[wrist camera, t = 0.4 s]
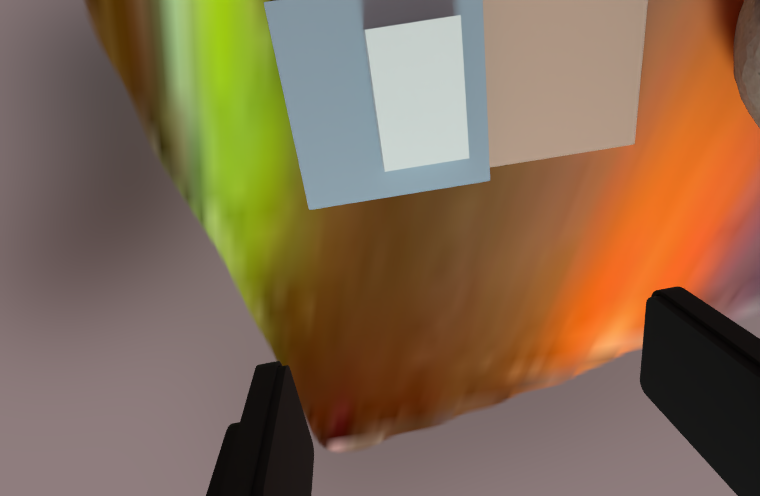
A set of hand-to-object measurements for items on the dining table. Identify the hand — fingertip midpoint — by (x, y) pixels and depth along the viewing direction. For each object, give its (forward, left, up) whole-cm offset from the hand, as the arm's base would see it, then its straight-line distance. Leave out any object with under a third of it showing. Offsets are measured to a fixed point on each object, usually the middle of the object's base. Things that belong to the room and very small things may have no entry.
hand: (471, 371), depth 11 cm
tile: (-5, +3, -23) cm, 24 cm away
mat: (-5, +15, -27) cm, 31 cm away
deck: (-5, +1, -27) cm, 28 cm away
